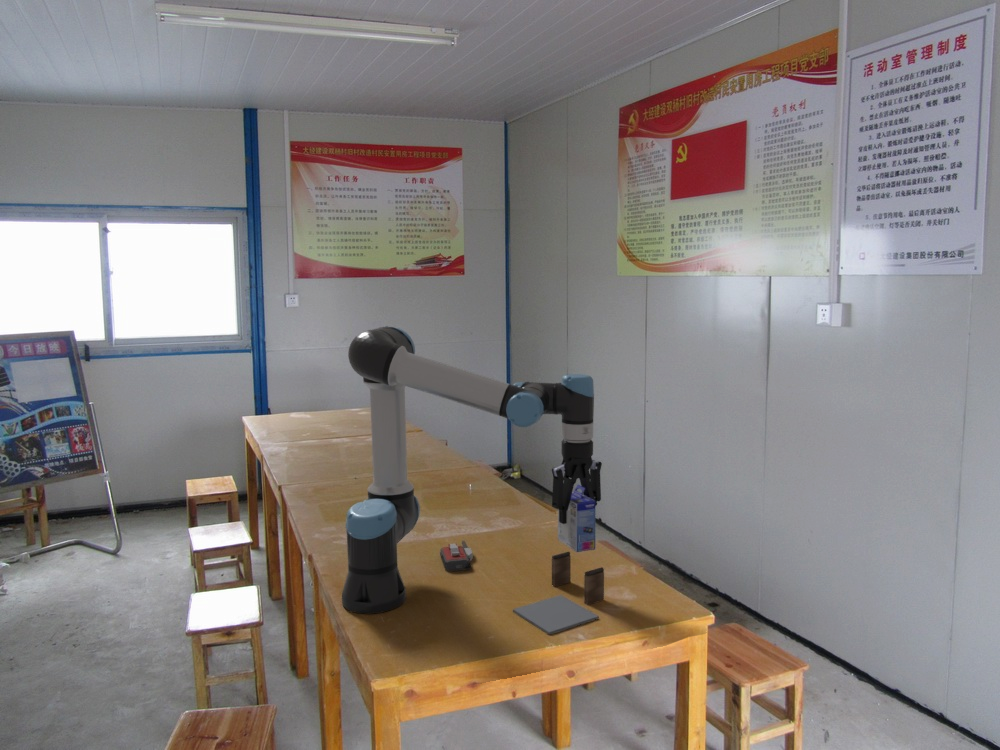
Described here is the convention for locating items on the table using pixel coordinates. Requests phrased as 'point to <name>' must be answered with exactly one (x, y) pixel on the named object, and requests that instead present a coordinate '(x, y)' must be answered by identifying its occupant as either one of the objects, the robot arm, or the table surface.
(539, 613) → the grey mat
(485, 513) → the table surface
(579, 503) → the ink cartridge box
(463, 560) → the walkie-talkie
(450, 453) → the table surface
